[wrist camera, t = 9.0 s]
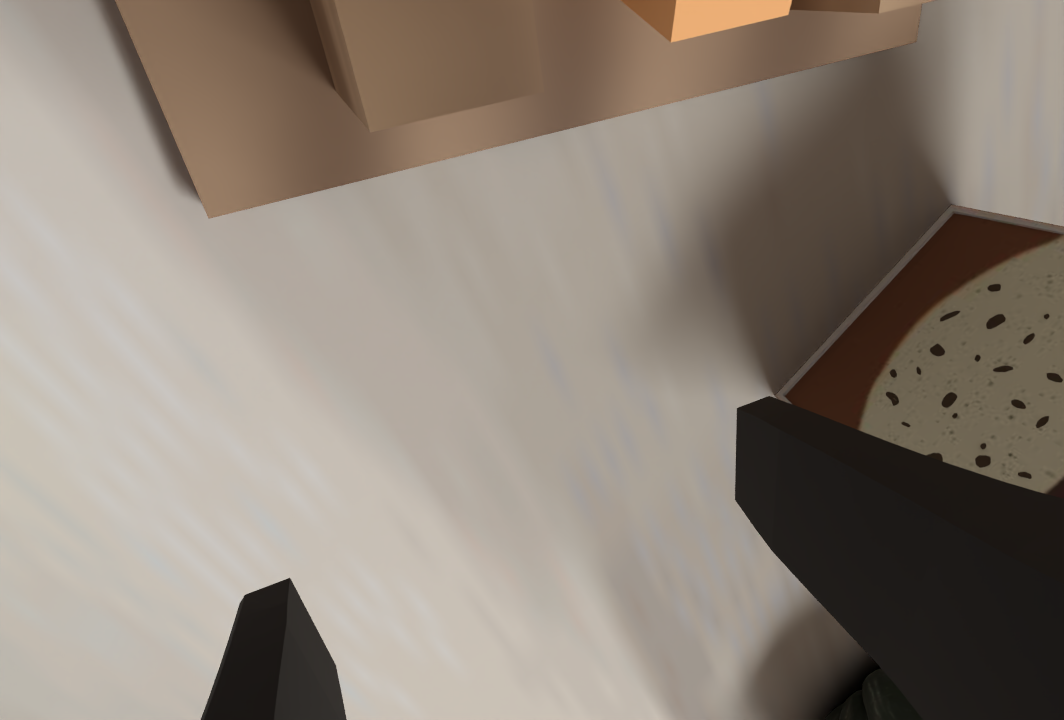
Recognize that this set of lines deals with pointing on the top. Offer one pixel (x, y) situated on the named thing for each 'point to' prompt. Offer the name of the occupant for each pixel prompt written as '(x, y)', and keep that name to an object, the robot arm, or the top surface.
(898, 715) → the squash
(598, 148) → the top surface
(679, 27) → the orange step-cut beam
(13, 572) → the top surface
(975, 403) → the food container
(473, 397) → the top surface
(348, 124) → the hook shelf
